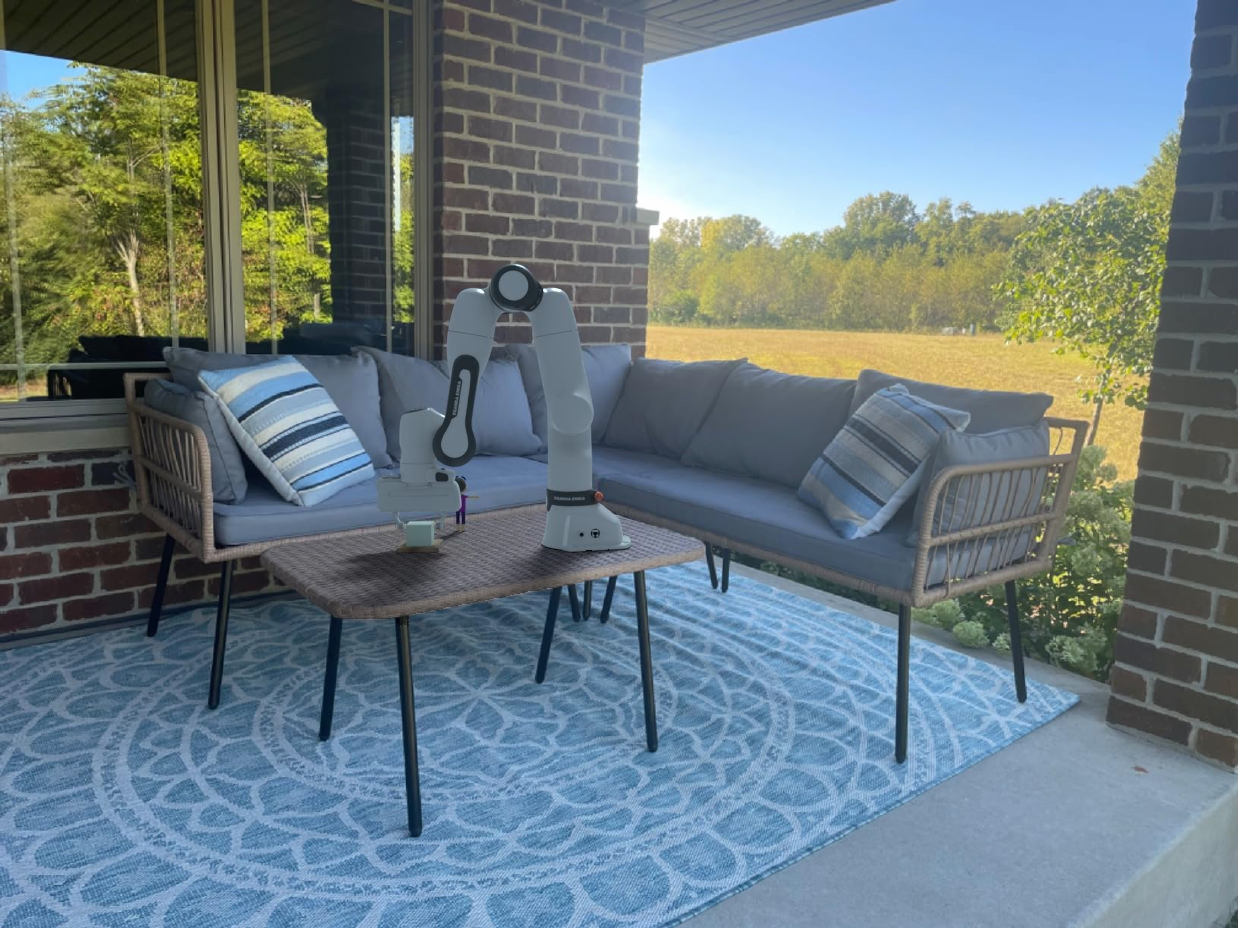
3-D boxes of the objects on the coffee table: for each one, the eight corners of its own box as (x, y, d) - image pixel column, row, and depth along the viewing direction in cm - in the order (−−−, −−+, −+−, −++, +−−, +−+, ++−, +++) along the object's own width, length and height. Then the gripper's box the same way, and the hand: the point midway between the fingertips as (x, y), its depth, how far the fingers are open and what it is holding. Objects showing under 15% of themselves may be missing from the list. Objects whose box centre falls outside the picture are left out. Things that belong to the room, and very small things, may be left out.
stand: (443, 543, 226) (442, 523, 225) (438, 551, 216) (438, 531, 215) (402, 543, 225) (402, 524, 224) (396, 552, 215) (396, 532, 215)
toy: (481, 530, 242) (480, 475, 240) (475, 534, 237) (474, 478, 235) (444, 528, 243) (443, 474, 242) (437, 533, 238) (436, 477, 236)
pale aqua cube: (434, 540, 224) (433, 521, 223) (431, 546, 218) (430, 525, 217) (409, 541, 223) (409, 521, 223) (406, 546, 217) (405, 526, 217)
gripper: (373, 475, 214) (374, 532, 216) (459, 475, 216) (460, 531, 218) (377, 472, 220) (379, 527, 222) (461, 471, 222) (462, 526, 224)
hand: (420, 529), depth 220 cm, fingers open, 8 cm apart
